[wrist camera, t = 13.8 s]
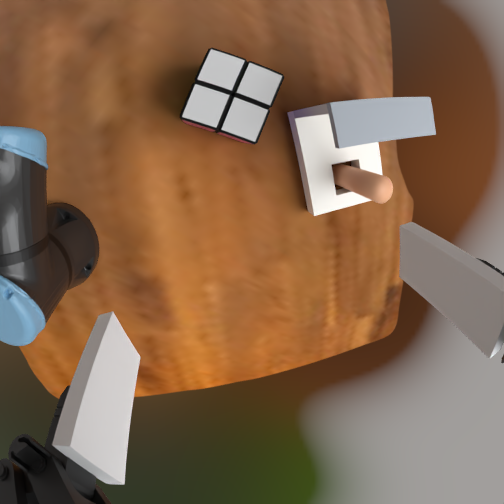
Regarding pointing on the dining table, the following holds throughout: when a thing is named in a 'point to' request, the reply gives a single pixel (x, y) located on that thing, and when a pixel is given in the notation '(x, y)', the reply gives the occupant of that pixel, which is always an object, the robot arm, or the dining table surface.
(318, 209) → the socket board
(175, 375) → the dining table surface
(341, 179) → the peg
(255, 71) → the puzzle cube
